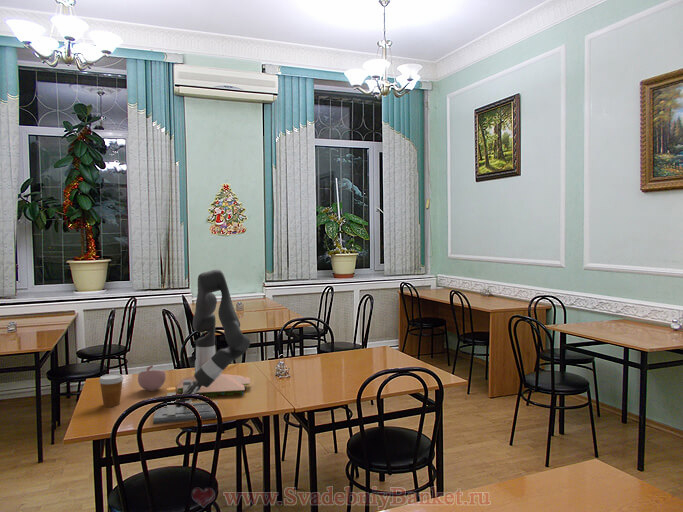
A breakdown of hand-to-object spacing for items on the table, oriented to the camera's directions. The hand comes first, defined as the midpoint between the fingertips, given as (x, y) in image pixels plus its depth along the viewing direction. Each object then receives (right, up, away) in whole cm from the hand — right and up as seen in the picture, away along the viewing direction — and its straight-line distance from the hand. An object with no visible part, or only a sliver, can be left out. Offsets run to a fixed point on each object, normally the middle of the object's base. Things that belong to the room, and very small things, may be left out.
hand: (177, 405), depth 199 cm
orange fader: (-2, -4, 0) cm, 5 cm away
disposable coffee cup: (-33, -5, +17) cm, 38 cm away
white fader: (+1, -4, +10) cm, 11 cm away
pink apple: (-24, -4, +37) cm, 44 cm away
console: (+2, -5, +6) cm, 8 cm away
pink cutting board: (+5, -5, +37) cm, 38 cm away
